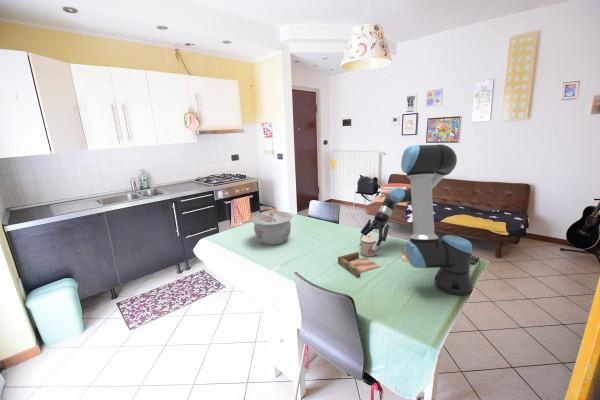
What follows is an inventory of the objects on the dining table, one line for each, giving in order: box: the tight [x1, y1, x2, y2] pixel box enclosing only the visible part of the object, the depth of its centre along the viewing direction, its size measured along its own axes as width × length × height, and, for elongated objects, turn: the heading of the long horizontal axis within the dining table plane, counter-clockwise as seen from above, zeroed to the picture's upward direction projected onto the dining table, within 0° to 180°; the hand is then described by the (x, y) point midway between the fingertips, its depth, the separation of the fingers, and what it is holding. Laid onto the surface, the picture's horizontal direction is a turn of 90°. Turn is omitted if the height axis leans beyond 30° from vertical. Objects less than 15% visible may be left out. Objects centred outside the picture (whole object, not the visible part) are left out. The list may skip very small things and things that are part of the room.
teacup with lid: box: [360, 233, 378, 257], centre depth 162 cm, size 12×9×12 cm
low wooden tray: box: [337, 251, 381, 278], centre depth 149 cm, size 18×17×4 cm
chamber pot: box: [250, 210, 293, 246], centre depth 185 cm, size 28×28×21 cm
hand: (366, 247), depth 161 cm, fingers closed on teacup with lid, 9 cm apart
